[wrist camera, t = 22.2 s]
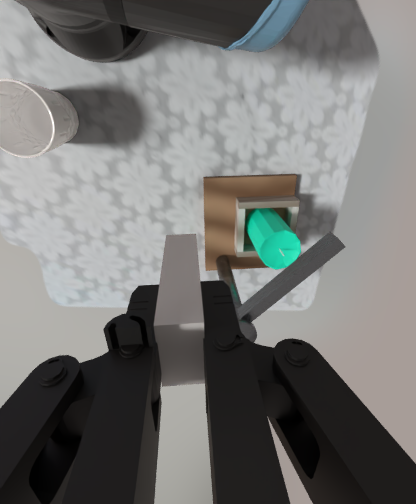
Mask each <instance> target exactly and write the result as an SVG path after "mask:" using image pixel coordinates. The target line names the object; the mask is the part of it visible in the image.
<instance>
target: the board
mask: <svg viewBox="0 0 416 504" xmlns="http://www.w3.org/2000/svg"><path fill="white" fill-rule="evenodd" d="M203 178H204V222H205V266H206V271H210V270H217V266H216V259H217V258H218V257H219V256H226V257H227V258H228V259H229V263H230V266H231V269H248V268H267V267H268V266H266V265H265V264H264V262H263V261H262V260H261V259H260V257H259V255H258V253H257V251H256V249H255V247H254V245H253V243H252V241H251V239H250V237H249V235H248V233H247V231H246V226H245V221H246V219H247V217H248V215H249V213H250V212H252V211H253V210H254V209H256V208H271V209H274V210H275V212H276V213H277V214H278V215H279V216H280V217H281V218H282V220H283V221H284V222H285V223H286V224H287V225H288V226H289V228H290V229H291V230H292V231H293V232H294V233H295V231H296V224H297V217H298V210H299V203H300V200H299V199H297V198H296V197H295V196H294V194H295V186H296V179H297V175H295V174H279V175H248V176H218V177H203Z"/></svg>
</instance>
